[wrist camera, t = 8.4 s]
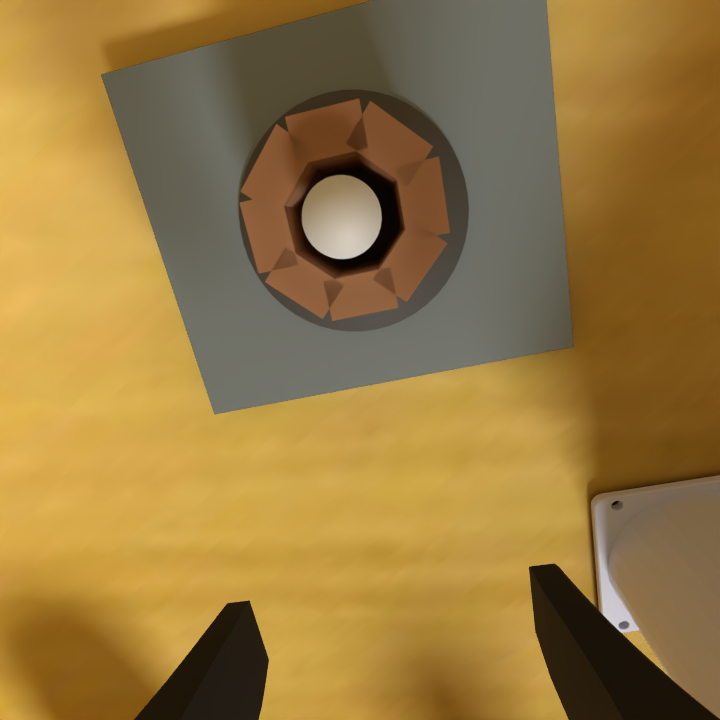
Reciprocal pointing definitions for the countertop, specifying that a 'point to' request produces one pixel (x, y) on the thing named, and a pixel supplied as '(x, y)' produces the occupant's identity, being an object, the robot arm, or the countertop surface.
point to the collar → (334, 156)
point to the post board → (418, 66)
